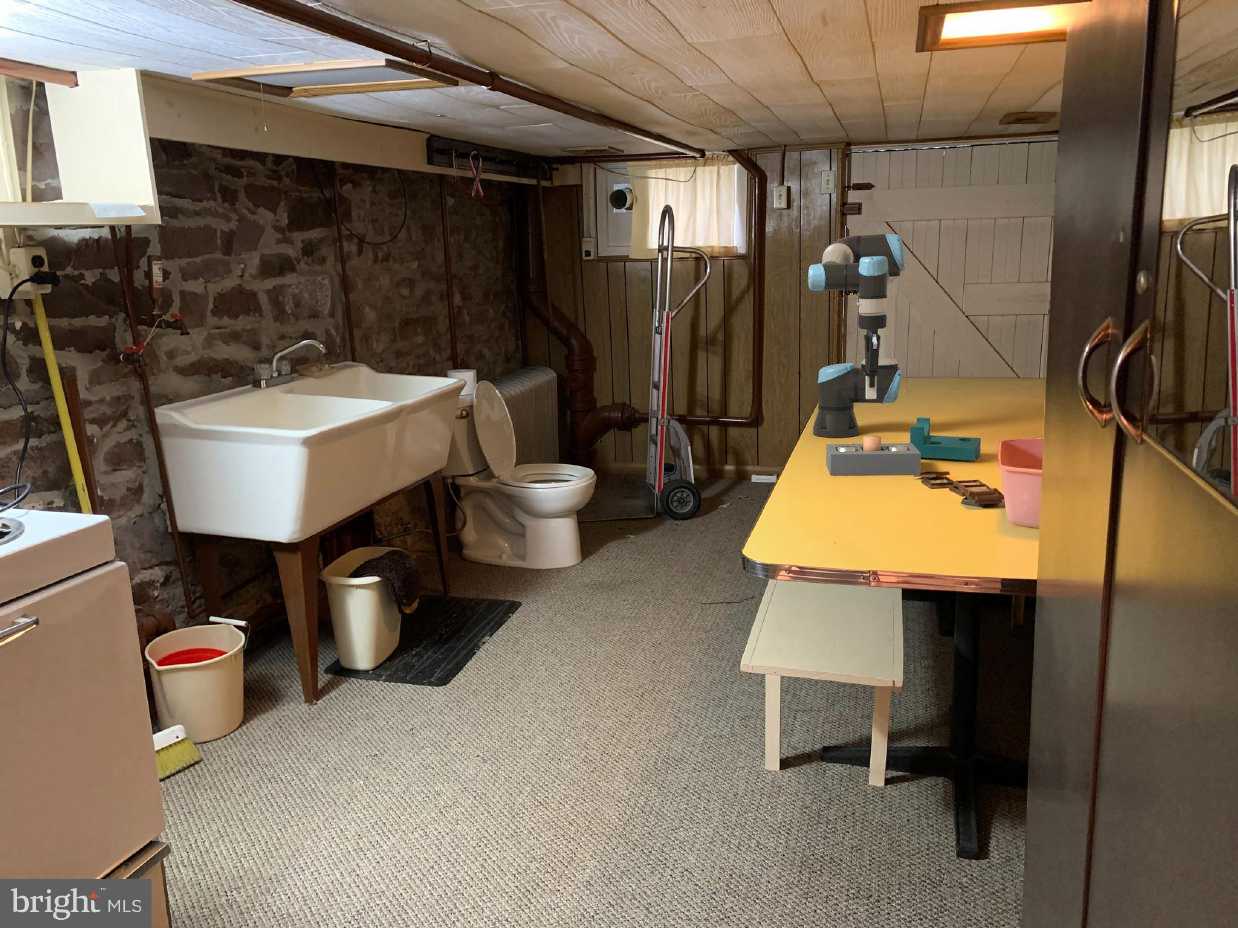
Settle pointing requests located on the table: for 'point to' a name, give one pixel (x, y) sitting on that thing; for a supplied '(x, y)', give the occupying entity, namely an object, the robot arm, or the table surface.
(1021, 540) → the table surface
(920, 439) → the teal l-shaped bracket
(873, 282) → the robot arm
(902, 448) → the steel plug
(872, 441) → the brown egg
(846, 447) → the steel plug
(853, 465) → the grey rectangular block
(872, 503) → the table surface
